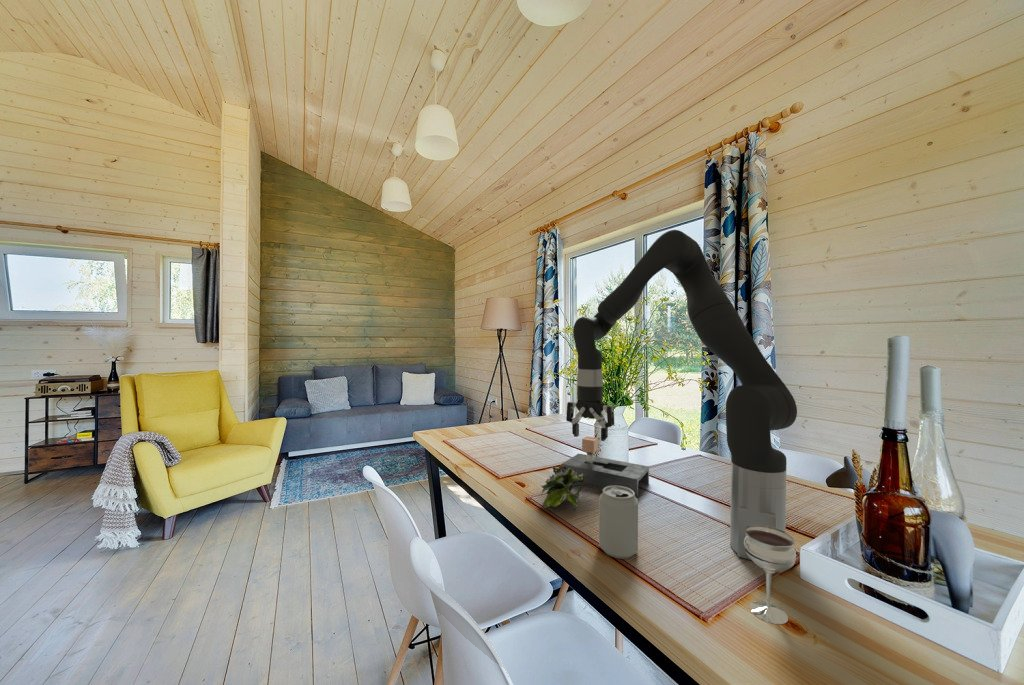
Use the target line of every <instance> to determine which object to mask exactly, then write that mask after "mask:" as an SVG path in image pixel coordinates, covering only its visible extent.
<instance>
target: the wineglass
mask: <svg viewBox="0 0 1024 685" xmlns="http://www.w3.org/2000/svg"><path fill="white" fill-rule="evenodd" d="M744 531H745V533H746V537H745V539H744V548H745V551H746V553H747V555H748V556H749V557H750V559H751V560H750V561H752V562H753V564H755V565H756V566H758V567H759V568H760V569H762V570H763V571H764V572H765V586H766V591H765V592H766V601H760V600H756V601H755V600H754V601H752V602H751V603H750V604H749V609H750V611H751V612H752V613H753V615H755V616H756V617H757V618H759V619H761V620H762V621H764V622H767V623H770V624H775V625H783V624H786V623H787V622H788V621H789V617H788V615H787V613H786V612H785V611H784V610H782V609H781V608H780V607H779V606H777V605H774V604H773V603H771V594H772V593H771V591H772V578H773V575H774V574H775V573H783V572H786V571H788V570H790V569H791V568H792V567H794V565H795V564H796V558H797V553H796V549H795V546H796V544H797V540H796V539H795V538H794V537H793V536H792V535H791V534H789V533H787V532H786V531H785V532H784V531H781V530H779V529H776V528H773V527H769V526H763V525H750V526H747V527H745V529H744Z"/></svg>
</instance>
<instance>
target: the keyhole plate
mask: <svg viewBox="0 0 1024 685" xmlns="http://www.w3.org/2000/svg"><path fill="white" fill-rule="evenodd" d="M561 466H567V468H566V469H569V468H572V470H573V469H574V470H576V471H577V473H578V475H581V474H584V476H585V474H586V476H587V479H586V481H585V483H584V485H583V486H582V487H587V488H593V489H597V490H601V491H603V489H604V488H605V487H607V486H623V487H627V488H629V489H631V490H633V491H634V493H635V497H636V498H637V499H638V498H639V484H643V485H649V484H650V466H648V465H643V464H637V463H632V462H627V461H621V460H615V459H609V458H606V457H600V456H595V455H594V465H593V464H588V463H587V454H583V453H577V454H575V455H573V456H572V457H570V458H569V459H567V460H566V461H564V462H562V463H561ZM566 469H565V471H566ZM562 472H563V471H562ZM578 475H577V477H579V476H578ZM583 482H584V481H583ZM583 482H579V483H580V484H579V485H578V486H581V485H582V484H583Z"/></svg>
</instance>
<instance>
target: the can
mask: <svg viewBox="0 0 1024 685" xmlns="http://www.w3.org/2000/svg"><path fill="white" fill-rule="evenodd" d="M598 499H599V500H598V501H599V502H598V504H599V505H598V509H599V510H598V513H599V514H598V545H599V547H600V549H601V550H602V551H603V552H604V553H605V554H606V555H607V556H610V557H611V558H615V559H621V560H622V559H624V560H625V559H629V558H631V557H633V555H635V554H637V552H638V551H639V549H638V548H639V500H638V498H636V497H635V493H634V491H633V490H631V489H629V488H627V487H623V486H607V487H605V488H604V489H603V490H602V493H600V495H599V497H598Z"/></svg>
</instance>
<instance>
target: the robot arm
mask: <svg viewBox="0 0 1024 685" xmlns="http://www.w3.org/2000/svg"><path fill="white" fill-rule="evenodd" d="M663 269H666V270H668V271H669V272H670V273H672V274H673V275H674V276H675V278H676V279H677V280H678V282H679V283H680V285H681V287H682V289H683V291H684V293H685V296H686V308H687V314H688V319H689V320H690V322H691V325H692V326H693V328H694V330H695V333H696V335H697V336H698V338H699V340H700V342H702V344H703V345H704V346H705V347H706V348H707V349H708V350H709V351H710V352H711V353H712V354H713V355H715V356H716V357H717V358H718V359H719V360H721V361H722V362H723V363H724V364H726V366H728V367H729V368H730V369H731V370H732V371H733V373H734V374H735V375H736V377H737V378H738V380H739V382H740V383H741V385H737V386H735V387H734V388H732V389H731V390H730V392H729V393H728V395H727V398H726V403H725V428H726V430H725V431H726V443H727V447H728V450H729V454H730V457H731V458H730V465H731V466H730V468H731V469H730V471H731V472H730V521H729V522H730V525H729V526H730V528H729V529H730V536H729V537H730V540H729V542H730V548H732V551H734V552H735V553H736V556H737V557H738V558H743V559H745V560H749V561H752V560H751V559H750V557H749V556H748V555H747V553H746V551H745V548H744V539H745V537H746V533H745V531H744V529H745V527H747V526H750V525H763V526H769V527H773V528H776V529H779V530H781V531H784V532H786V524H787V523H786V522H787V521H786V520H787V518H786V517H787V516H786V514H787V511H786V510H787V456H786V454H785V453H784V452H782V450H779V449H776V448H774V447H773V446H772V439H771V436H772V435H771V431H777V430H784V429H787V428H789V427H791V426H792V425H793V424H794V423H795V422H796V420H797V417H798V408H797V403H796V400H795V399H794V396H793V394H792V392H791V391H790V390H789V388H788V387H787V385H786V384H785V383H784V382H783V380H782V379H781V378H780V376H779V375H778V374H777V373H776V371H775V370H774V368H773V367H772V366H771V364H769V362H768V360H767V359H766V357H764V355H763V353H762V352H761V350H760V348H759V346H758V345H757V344H756V342H755V340H754V339H753V337H752V335H751V334H750V332H749V331H748V329H747V327H746V325H745V324H744V322H743V320H742V318H741V316H740V315H739V313H738V311H737V310H736V308H735V306H734V305H733V303H732V301H731V300H730V298H729V297H728V295H727V293H726V292H725V290H724V289H723V288H722V286H721V285H720V284H719V282H718V281H717V280H716V278H715V277H714V275H713V274H712V271H711V268H710V267H709V264H708V262H707V260H706V257H705V254H704V252H703V250H702V248H701V246H700V244H699V243H698V242H697V241H696V240H695V239H693V238H692V237H691V236H689V235H687V233H685V232H683V231H681V230H679V229H670V230H667V231H665V232H663V233H661V235H659V236H658V237H657V238H656V239H655V241H654V242H653V243H652V244H651V245H650V246H649V248H648V249H647V250H646V252H645V253H644V255H643V256H642V257H641V258H640V260H639V261H638V262H637V264H635V266H634V267H633V268H632V270H631V271H630V272H629V273H628V274H627V276H625V278H624V279H623V280H622V282H621V283H620V284H619V285H618V286H616V288H615V289H614V290H612V292H610V293H609V294H608V295H607V296H606V297H605V298H604V299H603V300H602V301H601V302H600V303H599V304H598V306H597V313H596V314H595V315H593V316H592V317H591V316H582V317H578V318H577V319H576V321H575V322H574V324H573V329H572V334H573V336H572V337H573V341H574V346H575V349H576V352H577V374H576V399H577V401H576V402H574V401H573V400H571V401H568V402H566V416H565V417H566V422H569V423H571V424H572V425H571V426H572V429H571V430H572V431H571V432H572V435H573V437H574V438H576V437H577V438H578V437H579V436H580V423H579V422H580V421H581V419H591V420H594V419H595V420H596V422H597V423H598V424H599V425H600V426H601V428H600V441H601V442H605V441H606V440H607V439H608V437H609V435H608V434H609V433H608V430H609V428H612V427H613V426H615V410H614V405H612V404H611V405H610V404H609V405H604V402H603V400H604V398H603V396H604V393H603V391H604V390H603V388H604V387H603V385H604V380H603V379H604V376H603V367H602V366H603V361H602V360H603V355H602V351H601V350H600V349H597V347H596V342H595V341H599V340H601V339H602V338H604V337H605V336H607V334H608V333H609V332H610V331H611V329H612V328H613V327H614V326H615V324H616V322H617V321H618V320H619V321H620V319H621V318H622V317H623V316H625V315H626V314H627V313H628V312H629V311H630V310H631V309H633V307H635V305H636V304H637V302H638V301H639V299H640V297H641V295H642V293H643V291H644V289H645V287H646V285H647V284H648V283H649V281H650V280H651V279H652V278H653V277H654V276H655V275H657V273H659V272H660V271H662V270H663ZM575 409H577V411H578V412H577V413H576V415H575V416H574V412H575ZM603 411H604V412H605V414H606V417H605V416H604V414H603Z"/></svg>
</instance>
